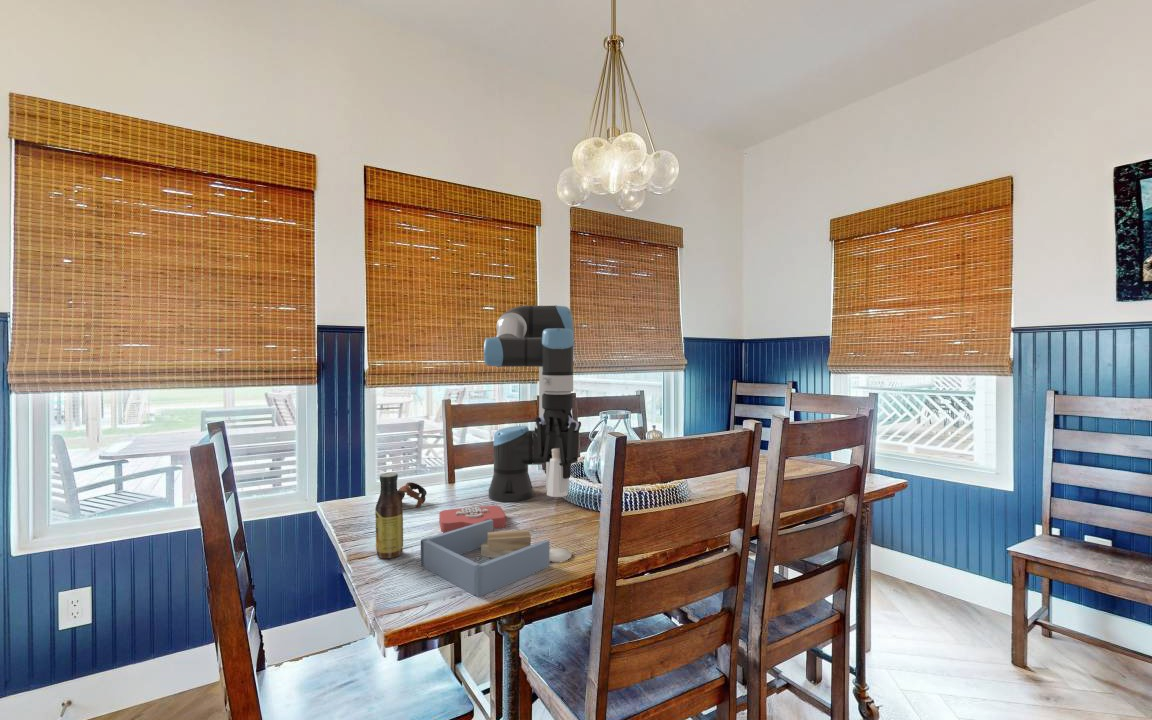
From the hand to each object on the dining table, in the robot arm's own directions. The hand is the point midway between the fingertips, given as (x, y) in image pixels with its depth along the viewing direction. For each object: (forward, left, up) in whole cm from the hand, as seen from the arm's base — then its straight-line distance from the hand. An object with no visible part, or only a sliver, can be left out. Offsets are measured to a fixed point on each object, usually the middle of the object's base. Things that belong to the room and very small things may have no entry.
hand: (557, 489), depth 124 cm
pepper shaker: (0, 0, -1) cm, 1 cm away
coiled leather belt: (+5, -63, -17) cm, 65 cm away
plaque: (+1, -33, -17) cm, 37 cm away
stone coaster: (0, 0, -16) cm, 16 cm away
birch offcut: (+8, -8, -17) cm, 21 cm away
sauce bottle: (+27, -30, -17) cm, 44 cm away
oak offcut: (+8, -9, -14) cm, 18 cm away
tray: (+15, -8, -16) cm, 24 cm away
